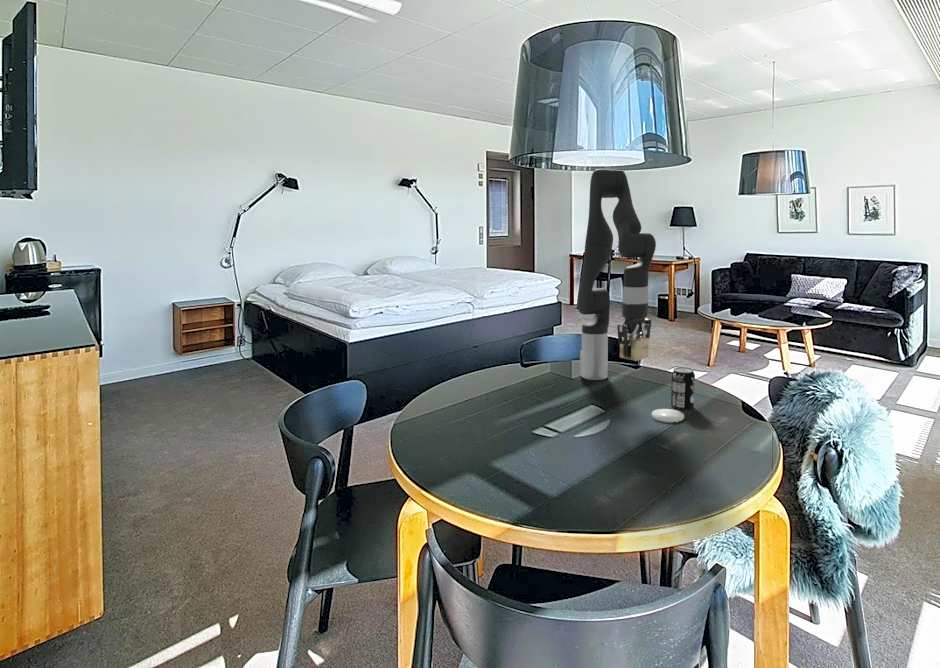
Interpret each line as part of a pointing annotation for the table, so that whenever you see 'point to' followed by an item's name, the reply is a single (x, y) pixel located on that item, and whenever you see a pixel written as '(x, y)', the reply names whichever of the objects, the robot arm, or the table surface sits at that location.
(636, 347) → the oak cube
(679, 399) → the beverage can
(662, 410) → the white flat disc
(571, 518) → the table surface
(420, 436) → the table surface
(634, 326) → the robot arm
